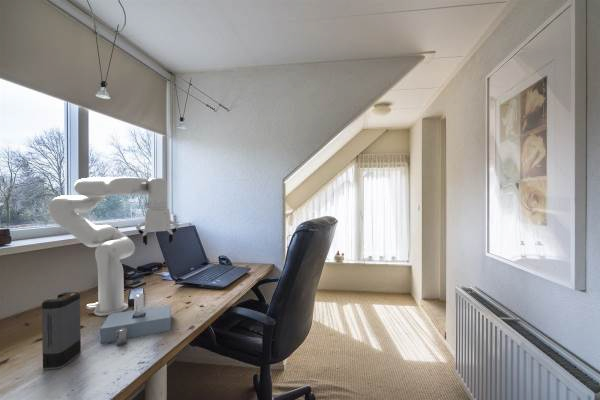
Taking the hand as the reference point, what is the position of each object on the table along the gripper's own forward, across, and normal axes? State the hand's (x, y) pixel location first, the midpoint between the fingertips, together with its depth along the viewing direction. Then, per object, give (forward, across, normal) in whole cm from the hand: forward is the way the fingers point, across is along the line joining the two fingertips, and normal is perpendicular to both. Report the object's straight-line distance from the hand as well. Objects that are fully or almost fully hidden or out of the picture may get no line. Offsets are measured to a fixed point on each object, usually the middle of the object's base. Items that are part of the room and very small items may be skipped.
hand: (158, 243), depth 124 cm
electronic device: (+31, -25, -31) cm, 50 cm away
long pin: (+30, -6, -16) cm, 35 cm away
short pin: (+30, -10, -27) cm, 42 cm away
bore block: (+30, -6, -16) cm, 35 cm away
